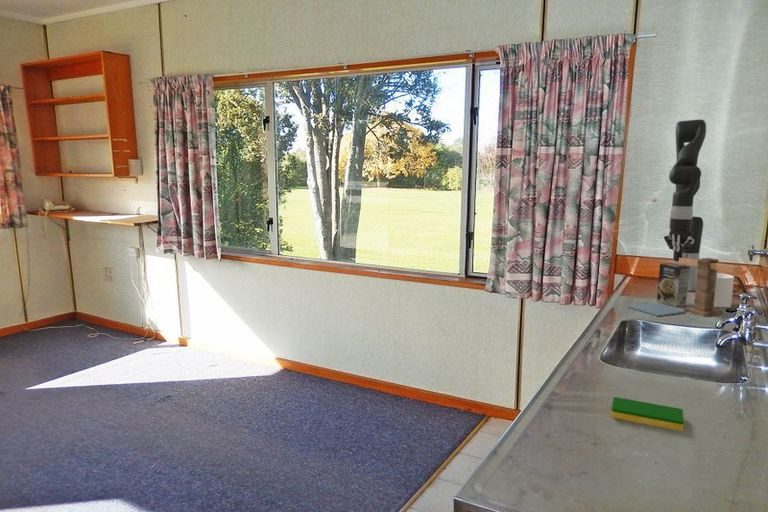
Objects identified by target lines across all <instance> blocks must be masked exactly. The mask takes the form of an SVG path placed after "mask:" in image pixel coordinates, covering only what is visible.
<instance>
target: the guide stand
mask: <svg viewBox="0 0 768 512" xmlns="http://www.w3.org/2000/svg"><path fill="white" fill-rule="evenodd" d="M710 262H715V263H719V262H720V261H719V259H718V258H711V257H706V258H705V257H703V258H699V259H698V265H697V268H698V271H697V282H696V290H695V292H694V295H695V297H694V303H693V304H694V306H690V307H684V310H683V311H685V312H686V311H687V312H686V313H689V312H691V313H690V314H693V313H694V315H697V314H698V316H700V315H702V316H701V317H708V316H707V315H710V316H715V315H714V314H717V315H722V314H723V310H722V309H720V308H713V306H714V296H715V286H716V276H717V273H718V270H715V269H710V268H709V265H710ZM721 313H722V314H721Z"/></svg>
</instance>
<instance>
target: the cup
mask: <svg viewBox="0 0 768 512" xmlns="http://www.w3.org/2000/svg"><path fill="white" fill-rule="evenodd" d="M734 280H735V277H734V276H733V275H730V274H726V273H719V272H717V276H716V286H715V296H714V306H713V307H725V308H724V309H727V308H726V307H729V308H731V307H732V301H733V300H732V299H733V292H734V291H733V290H734Z"/></svg>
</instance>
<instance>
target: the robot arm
mask: <svg viewBox="0 0 768 512" xmlns="http://www.w3.org/2000/svg"><path fill="white" fill-rule="evenodd" d="M706 135H707V124H706V121H705V120H704V119H690V120H680V121H677V123H676V126H675V152H676V163H675V164H674V165H673V167H671V170H670V171H669V176H668V179H669V181H670V182H671V183H672V184H673V185H675V191H674V192H673V193H672V202H671V203H672V205H671V210H670V215H669V216H670V217H669V229H670V230H669V233H668V234H667V235H665V236H663V239H664V241H665V243H666V245H667V247H668V248H669V250H672V251H673V255H672V256H673V261H674V264H678V265H683V266H689V267H690V273H689V282H688V291H687V292H694V291H695V292H696V282H697V271H698V268H697V266H693V265H688V264H682V263H679V258H683V257H685V258H691V259H697V260H698V259H700V250H701V244H702V237H703V236H702V235H703V230H704V220H703V218H702V217H701V216H693V213H694V211H693V210H694V209H693V208H694V207H693V206H694V197H695V195H696V194H697V193H698V191H699V190H700V188H701V176H702V170H701V168H700V167H699V166H697V165H698V161H699V160H698V159H699V154H700V151H701V149H702V146H703V144H704V141H705V139H706ZM686 143H687V144H686Z"/></svg>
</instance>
